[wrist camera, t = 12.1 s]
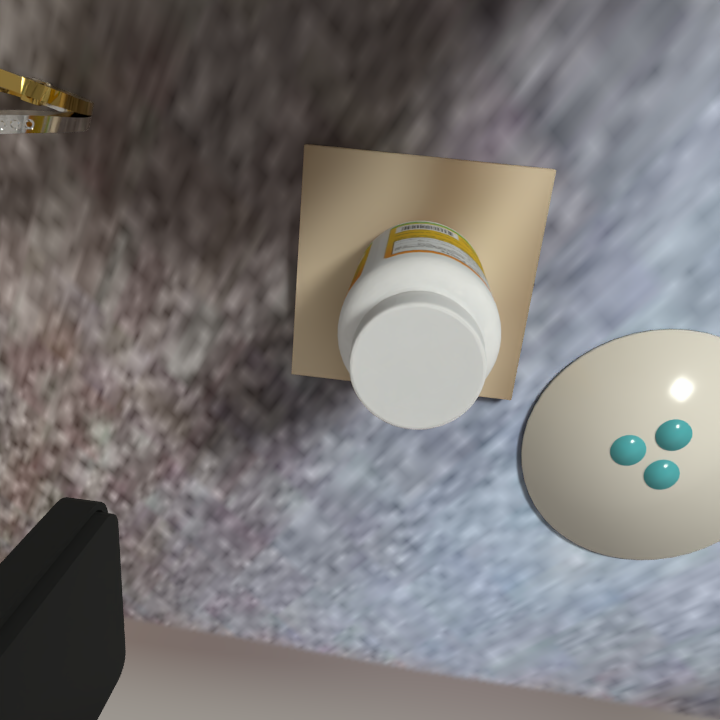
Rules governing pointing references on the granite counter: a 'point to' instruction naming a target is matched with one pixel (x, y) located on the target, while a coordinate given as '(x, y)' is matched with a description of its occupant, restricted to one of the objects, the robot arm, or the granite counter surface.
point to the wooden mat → (404, 204)
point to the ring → (69, 106)
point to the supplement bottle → (419, 326)
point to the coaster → (631, 446)
